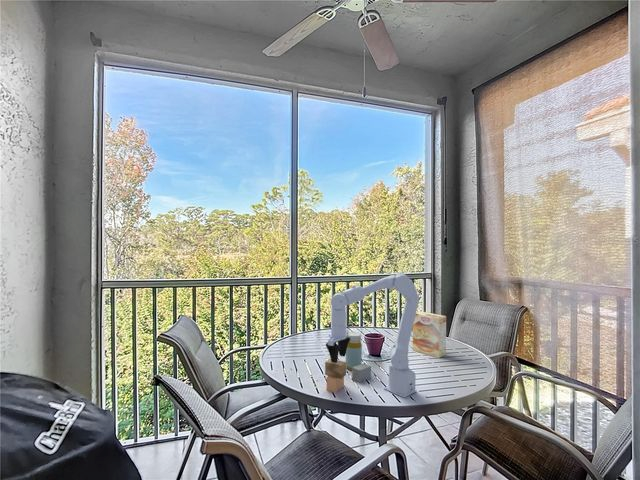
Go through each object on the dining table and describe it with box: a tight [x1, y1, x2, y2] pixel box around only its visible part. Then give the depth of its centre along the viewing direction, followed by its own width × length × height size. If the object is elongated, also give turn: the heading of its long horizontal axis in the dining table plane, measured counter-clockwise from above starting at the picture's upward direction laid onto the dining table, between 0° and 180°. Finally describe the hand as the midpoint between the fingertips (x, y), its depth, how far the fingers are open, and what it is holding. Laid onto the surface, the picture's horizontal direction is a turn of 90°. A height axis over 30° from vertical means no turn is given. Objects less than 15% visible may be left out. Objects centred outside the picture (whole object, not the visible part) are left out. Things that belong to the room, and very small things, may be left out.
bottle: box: [345, 331, 363, 371], centre depth 150 cm, size 7×7×15 cm
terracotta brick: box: [326, 376, 345, 393], centre depth 130 cm, size 7×4×5 cm, turn 151°
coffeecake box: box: [412, 310, 447, 358], centre depth 171 cm, size 15×7×20 cm, turn 42°
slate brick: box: [351, 363, 372, 383], centre depth 139 cm, size 7×4×5 cm, turn 131°
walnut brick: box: [324, 358, 347, 379], centre depth 130 cm, size 7×4×5 cm, turn 60°
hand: (338, 359), depth 132 cm, fingers open, 7 cm apart
